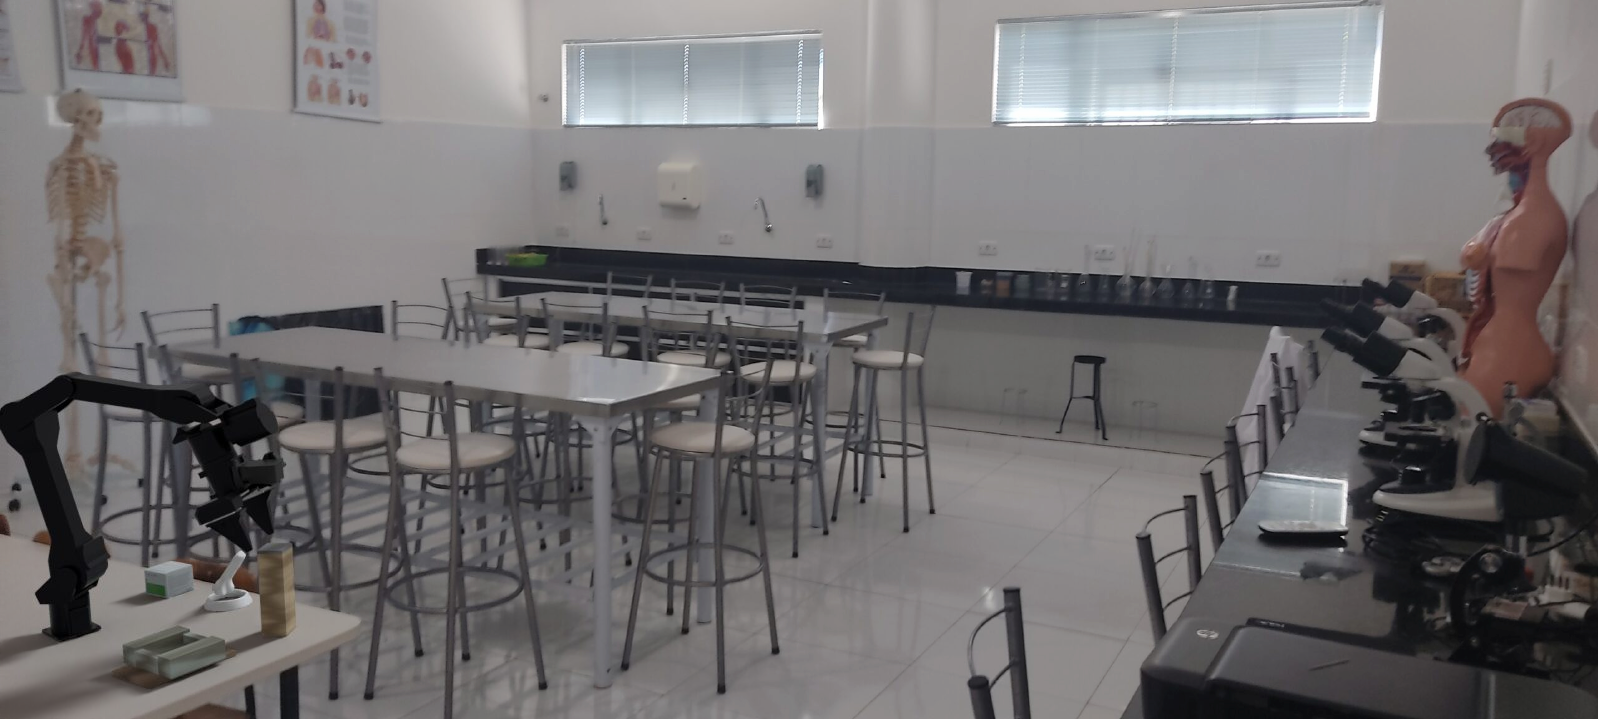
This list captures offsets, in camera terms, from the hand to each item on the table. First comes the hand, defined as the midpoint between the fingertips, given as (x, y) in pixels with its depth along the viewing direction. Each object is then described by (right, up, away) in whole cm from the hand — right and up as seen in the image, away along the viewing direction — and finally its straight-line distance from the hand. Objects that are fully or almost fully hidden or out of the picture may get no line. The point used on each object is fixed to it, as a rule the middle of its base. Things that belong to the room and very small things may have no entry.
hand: (260, 542), depth 187 cm
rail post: (+3, -15, +1) cm, 15 cm away
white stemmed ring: (-12, -13, +13) cm, 22 cm away
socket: (-7, -17, -13) cm, 22 cm away
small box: (-25, -12, +18) cm, 34 cm away
